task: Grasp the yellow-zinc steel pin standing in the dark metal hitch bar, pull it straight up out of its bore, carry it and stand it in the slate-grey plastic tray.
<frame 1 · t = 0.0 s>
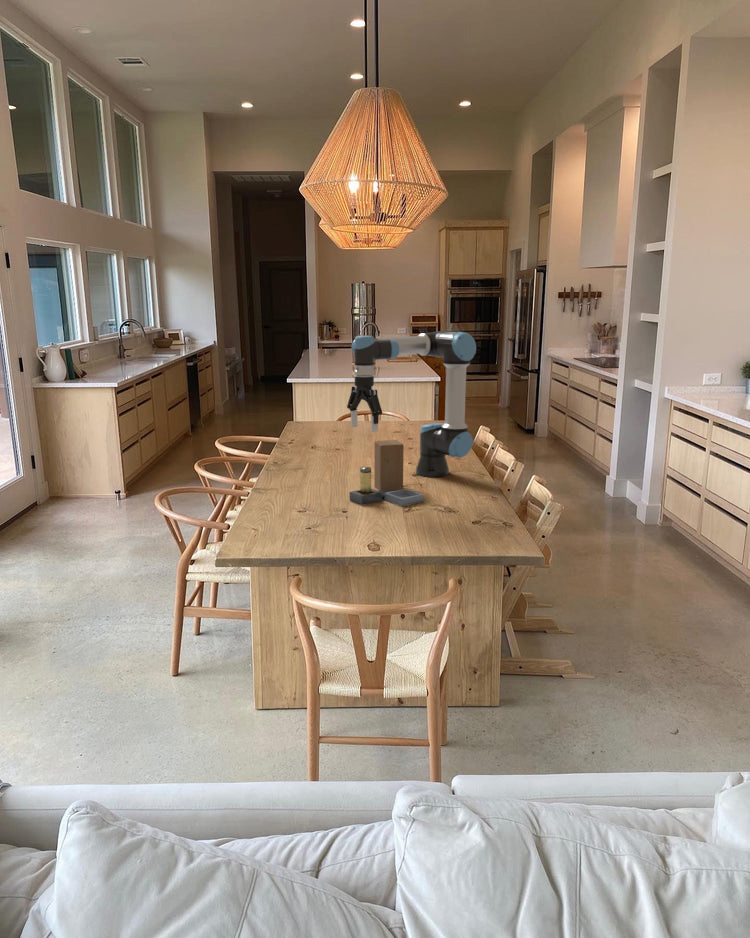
hand: (364, 429, 292), 28 cm above the table, fingers open, 13 cm apart
tray: (403, 500, 294), on the table
wooden block: (388, 489, 312), on the table
hitch bar: (365, 500, 294), on the table
pin: (365, 484, 292), in the hitch bar
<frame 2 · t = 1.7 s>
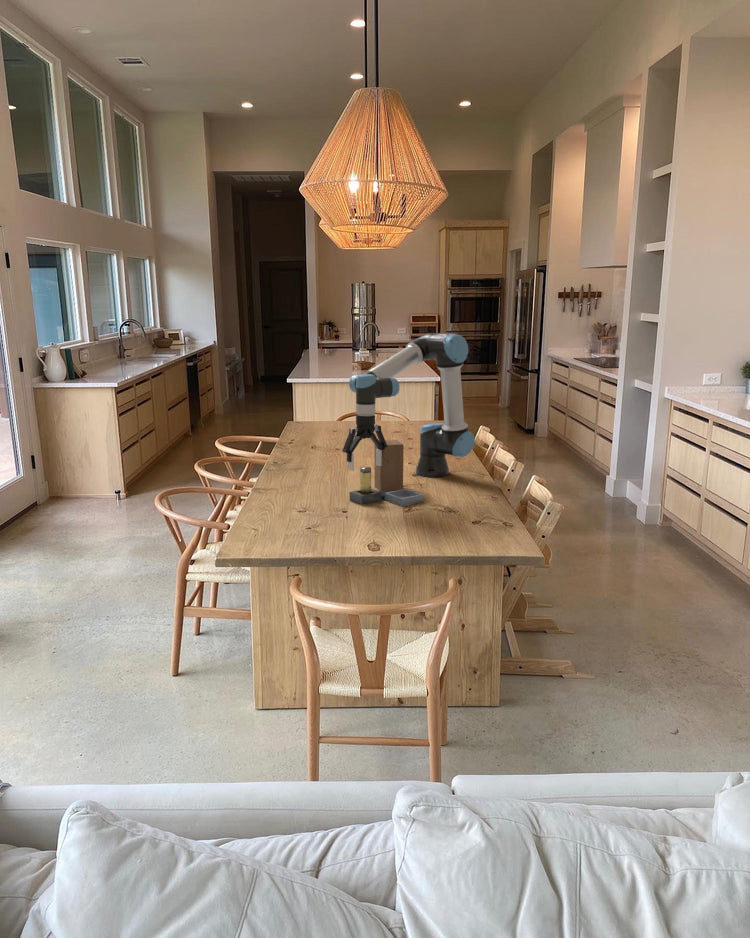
hand: (365, 467, 290), 14 cm above the table, fingers open, 13 cm apart
nothing on the table moved.
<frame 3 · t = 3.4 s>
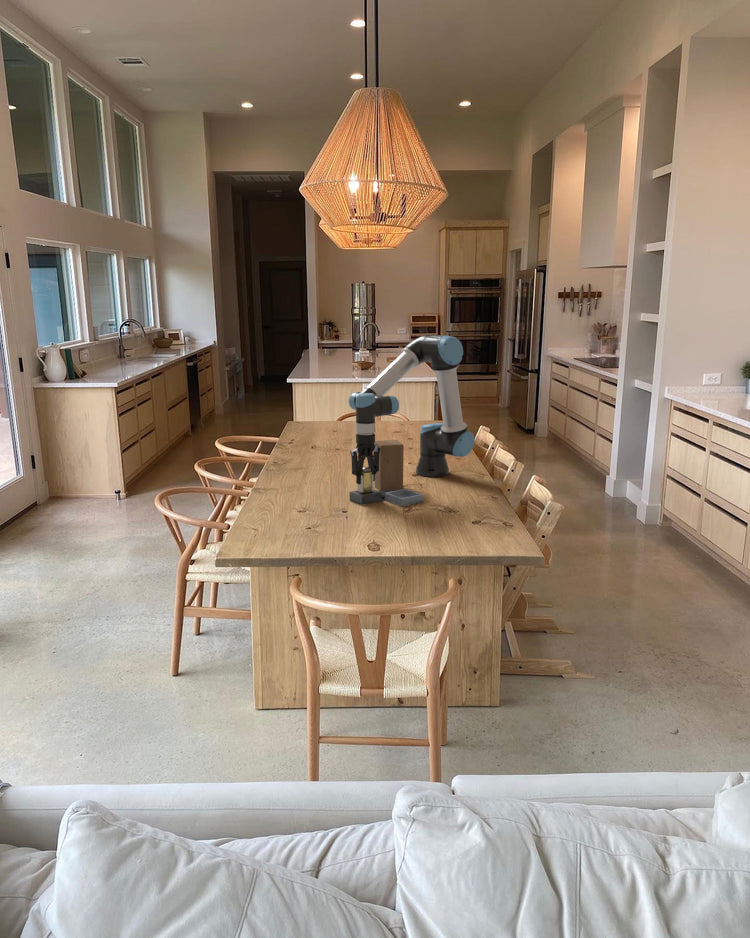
hand: (365, 490, 293), 4 cm above the table, fingers closed on pin, 4 cm apart
pin: (365, 484, 292), in the hitch bar, touching gripper
everything else where it was.
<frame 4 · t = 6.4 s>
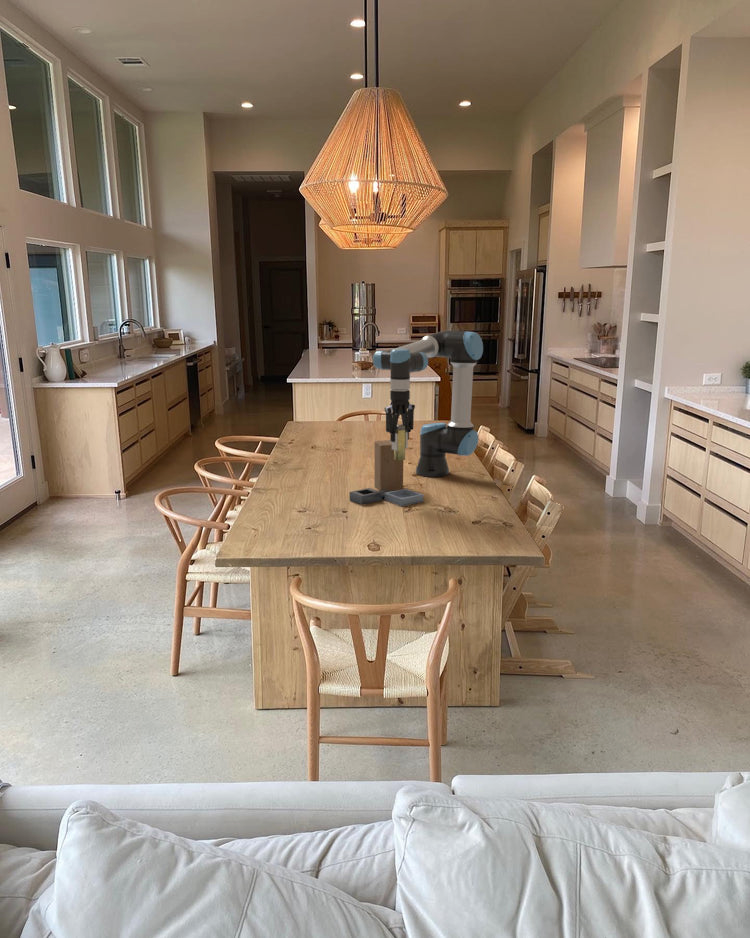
hand: (399, 448, 289), 21 cm above the table, fingers closed on pin, 4 cm apart
pin: (399, 442, 288), point 24 cm above the table, touching gripper
everything else where it was.
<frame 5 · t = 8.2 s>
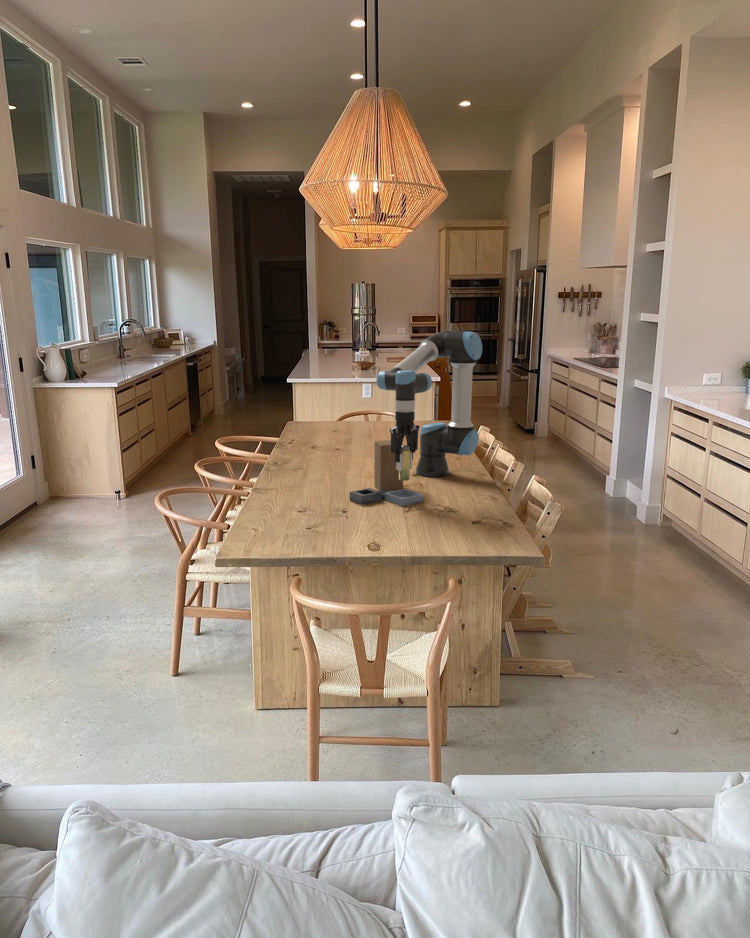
hand: (404, 469, 290), 13 cm above the table, fingers closed on pin, 4 cm apart
pin: (404, 462, 290), point 16 cm above the table, touching gripper
everything else where it was.
when the fingers open (6 cm above the table, at t = 9.7 s): pin drops 1 cm, resting on tray.
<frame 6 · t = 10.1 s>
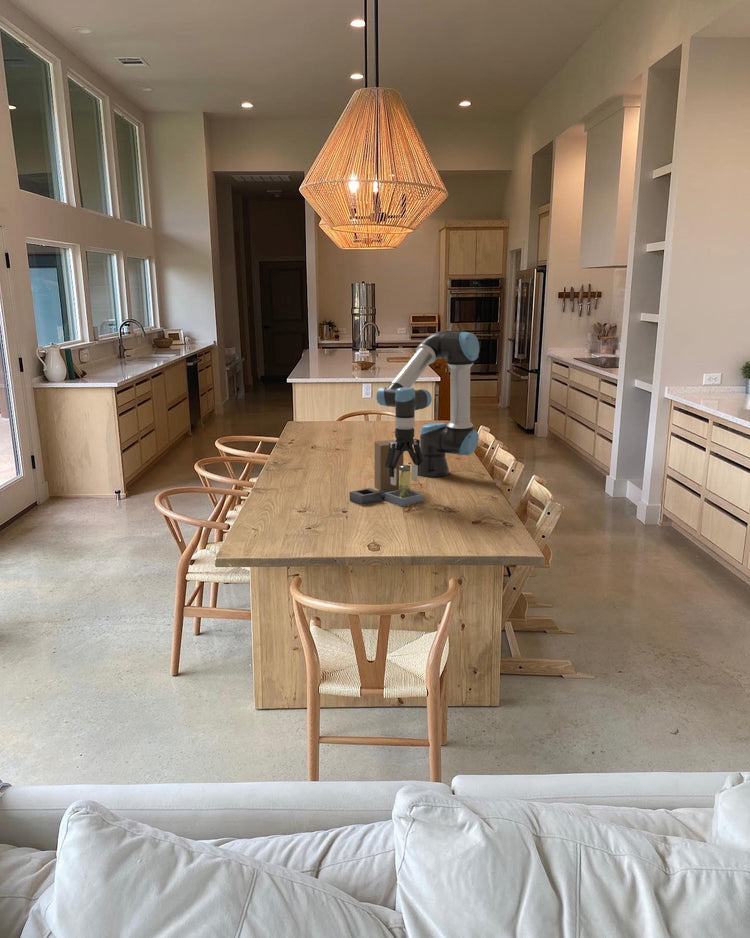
hand: (404, 482, 292), 8 cm above the table, fingers open, 10 cm apart
pin: (404, 482, 292), in the tray, point 8 cm above the table
everything else where it was.
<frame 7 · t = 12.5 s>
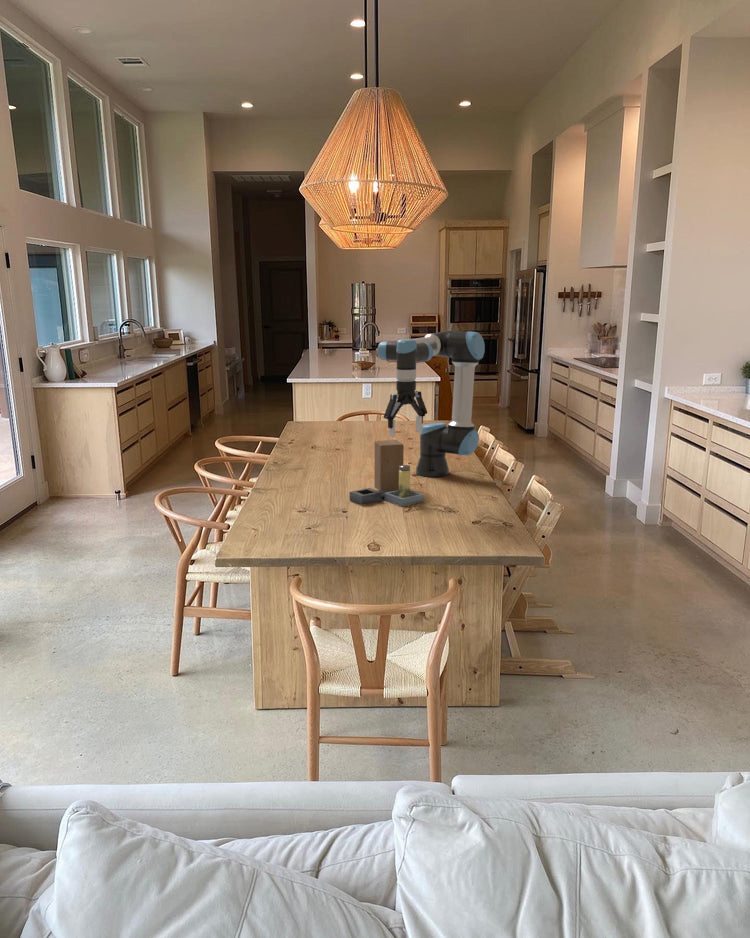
hand: (405, 434, 288), 27 cm above the table, fingers open, 13 cm apart
nothing on the table moved.
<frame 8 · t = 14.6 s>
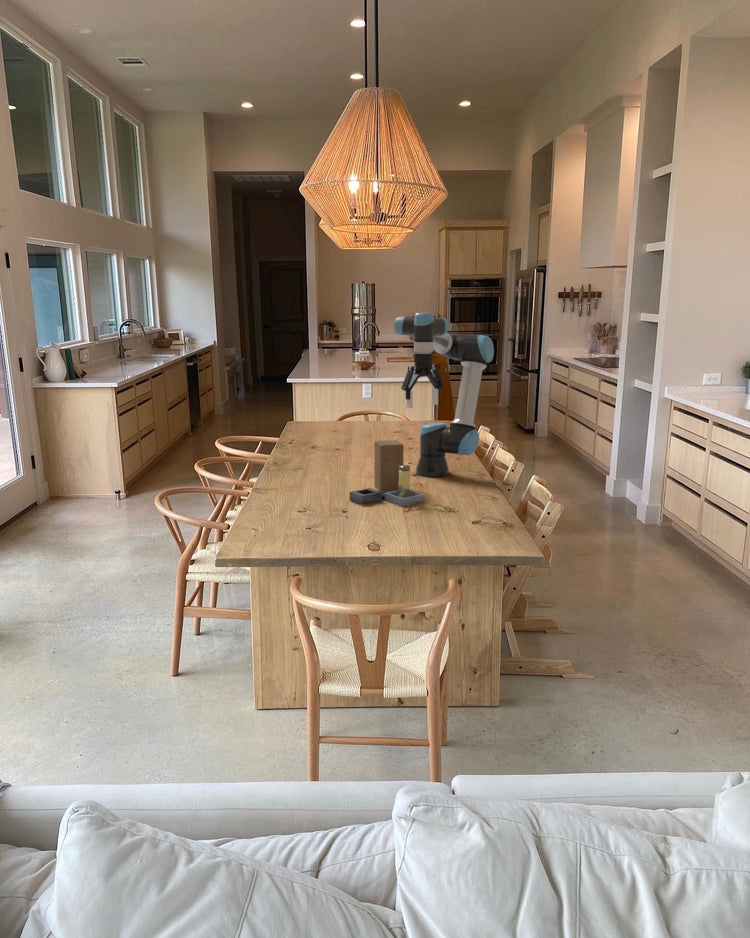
hand: (422, 406, 295), 37 cm above the table, fingers open, 13 cm apart
nothing on the table moved.
at the end: pin inside the target area on the tray (0.1 cm from its centre), point 7.6 cm above the tray's base; pin touching tray; the gripper is holding nothing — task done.
